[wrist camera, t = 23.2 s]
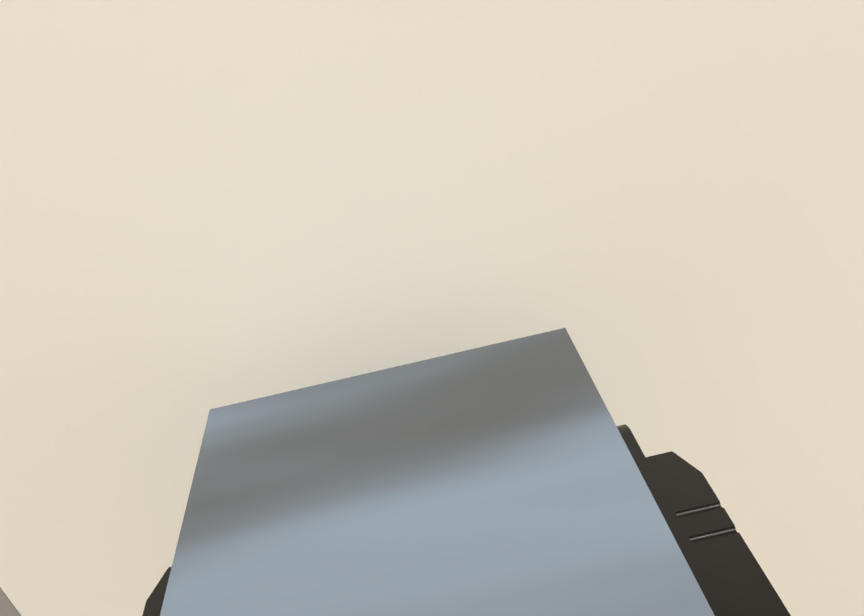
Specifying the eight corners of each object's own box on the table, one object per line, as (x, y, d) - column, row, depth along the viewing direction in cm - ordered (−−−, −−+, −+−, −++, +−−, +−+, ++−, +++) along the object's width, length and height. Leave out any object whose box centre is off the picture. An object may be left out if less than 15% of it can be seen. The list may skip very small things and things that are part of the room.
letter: (-827, 66, 8) (-859, 72, 8) (1324, -446, 8) (1351, -454, 8) (-11, 853, 17) (-15, 865, 17) (1011, 618, 17) (1019, 626, 17)
